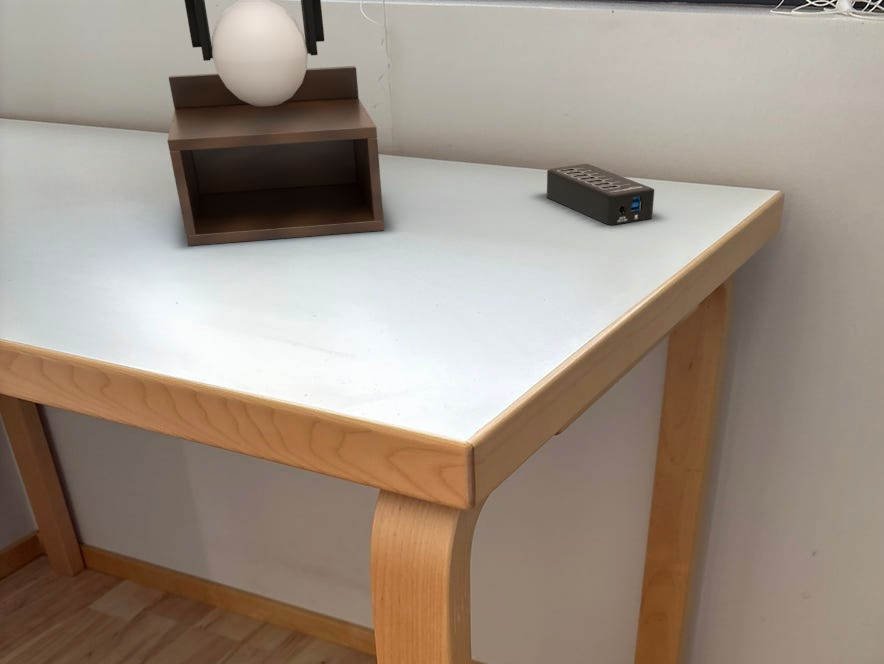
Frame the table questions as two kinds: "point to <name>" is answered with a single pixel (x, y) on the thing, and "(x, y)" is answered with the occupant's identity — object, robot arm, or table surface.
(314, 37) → the robot arm
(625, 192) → the multiport hub
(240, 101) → the shelf
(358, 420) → the table surface
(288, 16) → the cream oval egg shape
